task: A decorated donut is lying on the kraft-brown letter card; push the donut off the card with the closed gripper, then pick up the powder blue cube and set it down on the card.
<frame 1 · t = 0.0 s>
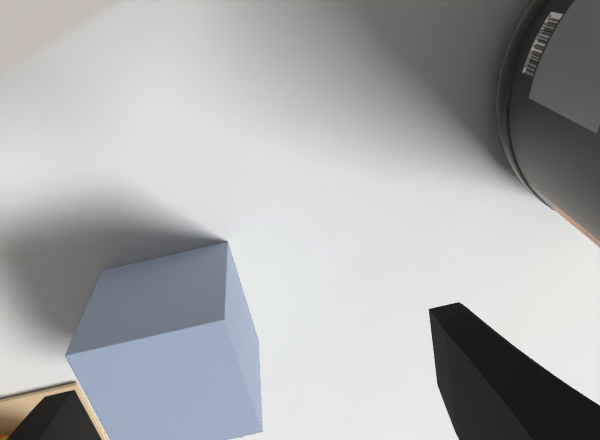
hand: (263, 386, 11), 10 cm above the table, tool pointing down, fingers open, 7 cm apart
powder blue cube: (184, 305, 22), on the table
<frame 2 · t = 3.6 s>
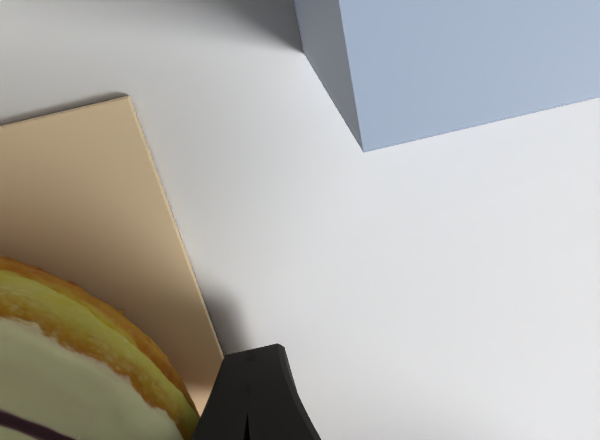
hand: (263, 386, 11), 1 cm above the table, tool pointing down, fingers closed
letter card: (26, 408, 12), on the table
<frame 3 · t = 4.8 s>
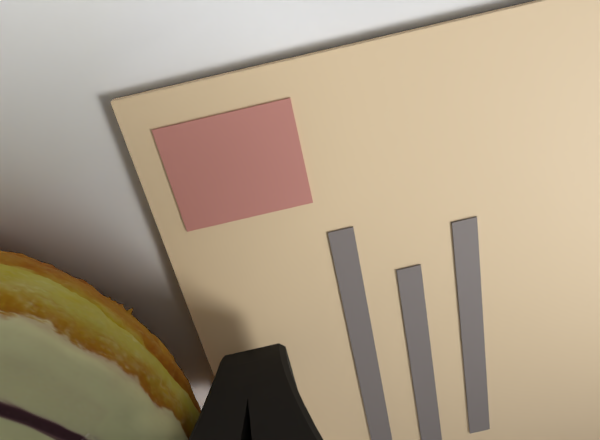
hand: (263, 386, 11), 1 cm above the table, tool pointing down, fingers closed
letter card: (413, 318, 12), on the table
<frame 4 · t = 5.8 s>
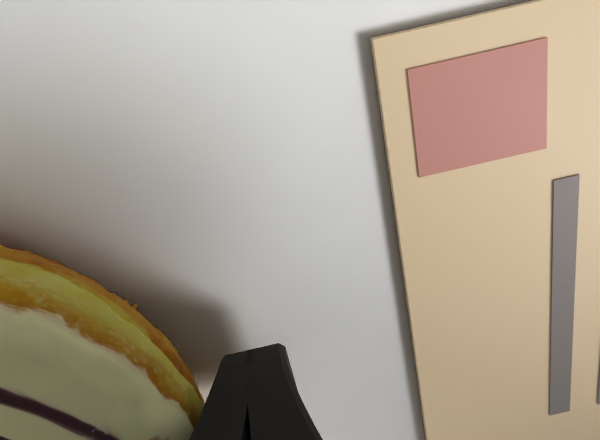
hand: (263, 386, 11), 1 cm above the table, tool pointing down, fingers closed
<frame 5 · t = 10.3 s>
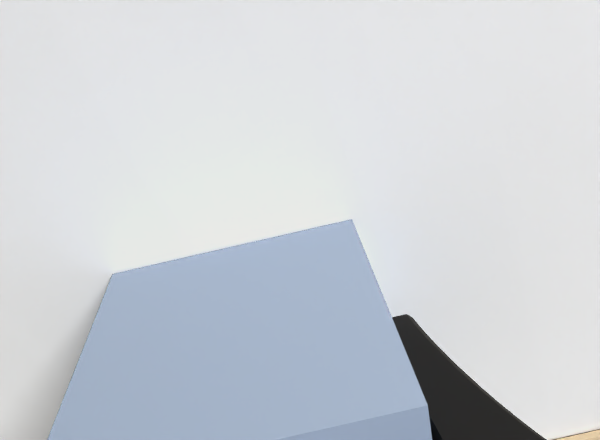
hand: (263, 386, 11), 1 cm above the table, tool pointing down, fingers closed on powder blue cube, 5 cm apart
powder blue cube: (260, 340, 12), on the table, touching gripper
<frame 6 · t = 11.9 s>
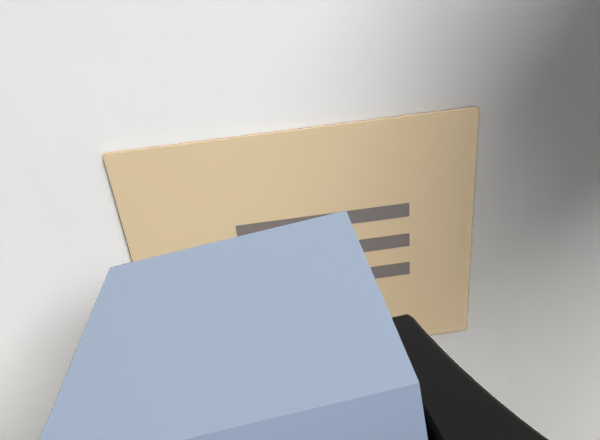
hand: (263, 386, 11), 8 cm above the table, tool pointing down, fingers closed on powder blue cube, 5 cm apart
powder blue cube: (257, 332, 12), point 7 cm above the table, touching gripper
letter card: (306, 250, 19), on the table
when the fingers open (3 cm above the table, at t = 13.7 s): powder blue cube stays where it is, resting on letter card.
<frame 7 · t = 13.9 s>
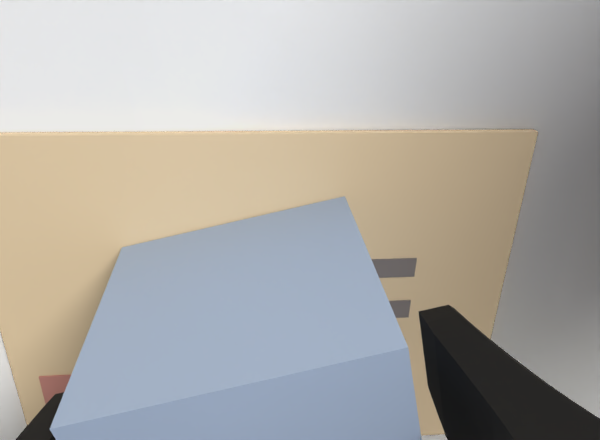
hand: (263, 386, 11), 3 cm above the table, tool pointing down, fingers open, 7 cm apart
powder blue cube: (260, 311, 13), resting on letter card
letter card: (259, 309, 13), on the table
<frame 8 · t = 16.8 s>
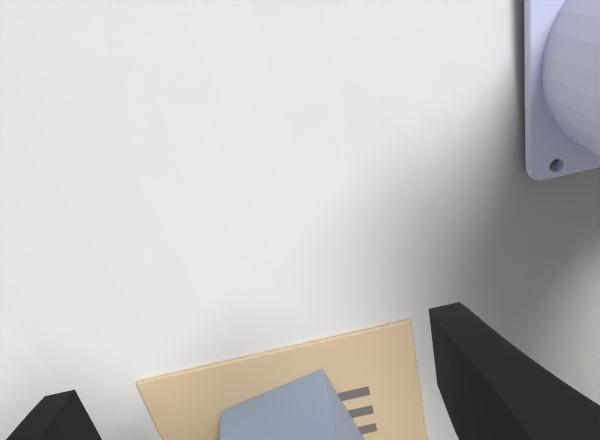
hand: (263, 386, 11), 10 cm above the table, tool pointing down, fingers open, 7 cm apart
powder blue cube: (295, 425, 25), resting on letter card
letter card: (294, 423, 25), on the table
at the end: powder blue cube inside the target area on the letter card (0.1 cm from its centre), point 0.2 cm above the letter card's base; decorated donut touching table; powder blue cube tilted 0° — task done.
